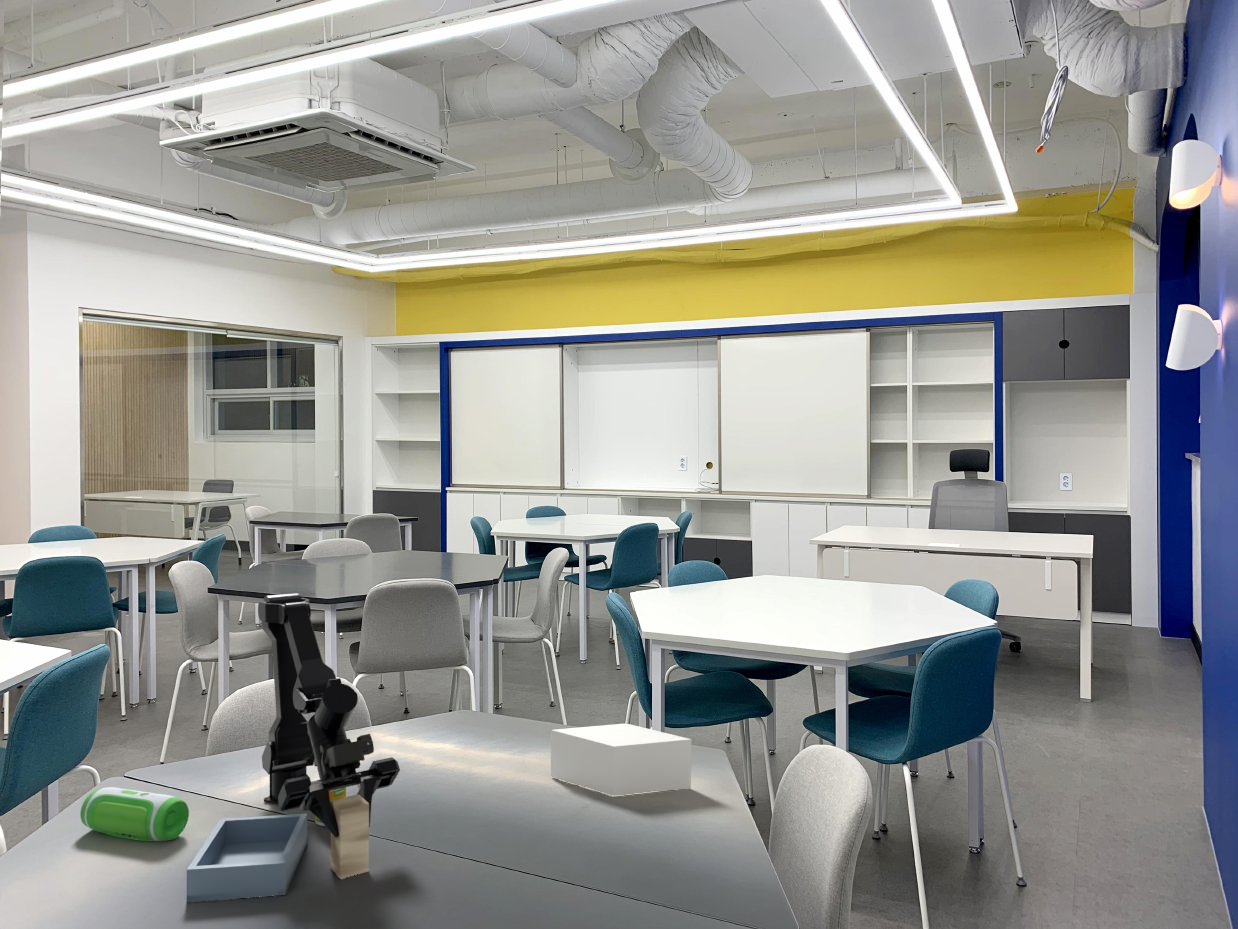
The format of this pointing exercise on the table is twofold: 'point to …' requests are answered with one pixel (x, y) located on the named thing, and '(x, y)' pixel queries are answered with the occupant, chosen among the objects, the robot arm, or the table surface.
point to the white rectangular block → (621, 759)
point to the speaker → (134, 814)
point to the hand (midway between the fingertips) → (352, 832)
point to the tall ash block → (350, 837)
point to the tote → (247, 858)
